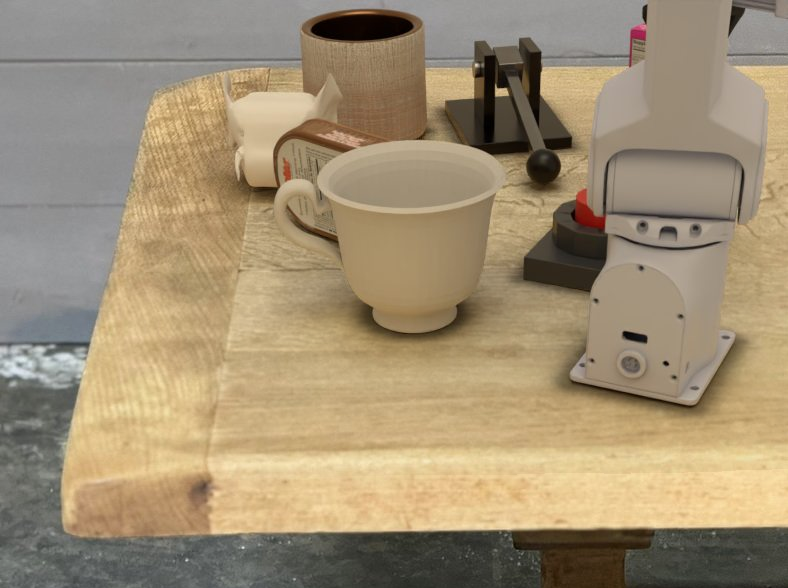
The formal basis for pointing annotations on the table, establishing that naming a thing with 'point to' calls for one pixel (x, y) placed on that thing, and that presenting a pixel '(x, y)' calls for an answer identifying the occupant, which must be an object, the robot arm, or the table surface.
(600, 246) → the button box
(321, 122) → the tin
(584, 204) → the button
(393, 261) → the teacup
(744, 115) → the robot arm
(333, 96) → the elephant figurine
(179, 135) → the table surface
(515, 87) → the lever
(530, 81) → the bracket
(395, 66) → the planter
